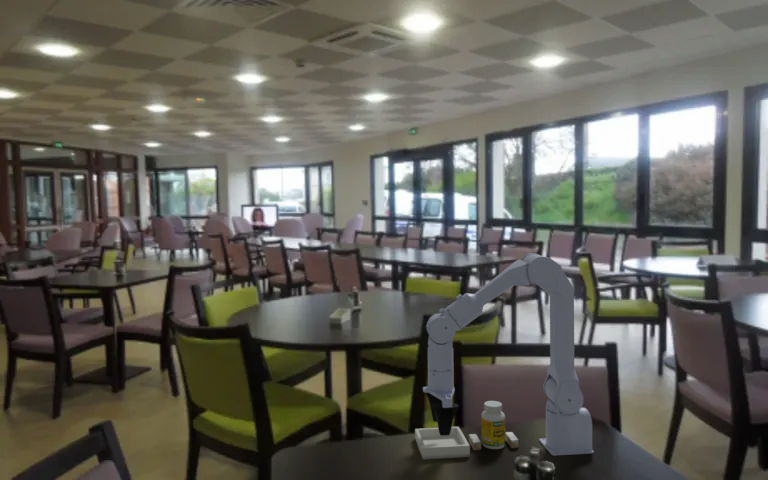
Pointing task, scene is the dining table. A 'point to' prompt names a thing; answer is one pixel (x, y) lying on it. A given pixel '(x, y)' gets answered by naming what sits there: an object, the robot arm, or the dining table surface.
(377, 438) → the dining table surface
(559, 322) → the robot arm
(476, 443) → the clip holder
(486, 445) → the supplement bottle
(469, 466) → the dining table surface
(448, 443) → the tray
